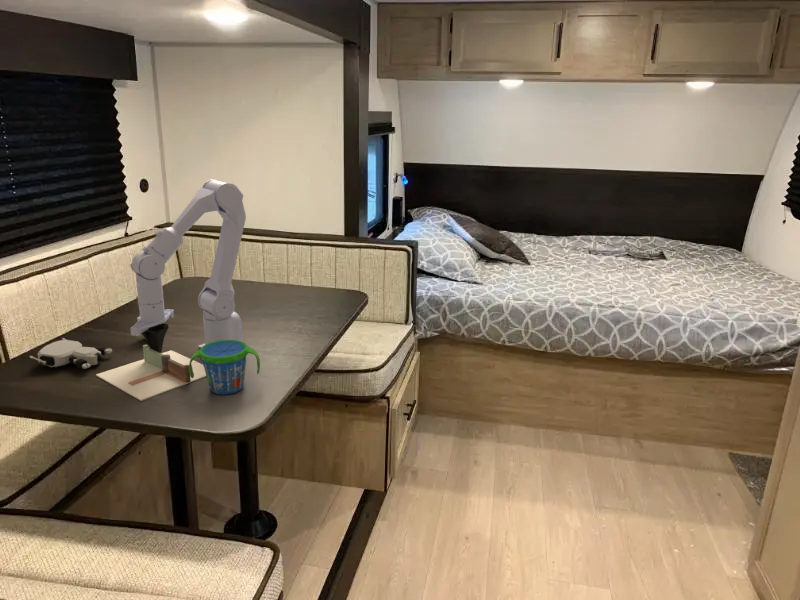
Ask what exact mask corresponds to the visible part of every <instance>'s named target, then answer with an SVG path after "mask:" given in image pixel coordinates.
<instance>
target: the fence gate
mask: <svg viewBox="0 0 800 600" xmlns="http://www.w3.org/2000/svg"><path fill="white" fill-rule="evenodd" d="M142 351H143V359H144V361H147V362H149V363H151V364H153V365H155V366H157V367H159V368H161V369H163V368H162V359H161V356H162V355H163V354H161V353H162V352H161V353H159V352H157V351H154V350H152V349H150V347H149V344H143V345H142Z"/></svg>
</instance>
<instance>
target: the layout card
mask: <svg viewBox="0 0 800 600" xmlns="http://www.w3.org/2000/svg"><path fill="white" fill-rule="evenodd" d="M161 354H163V355H170V359H172V360H174V361H176V362H178V363H180V364H182V365H189V363H190V360H191V358H189V357H188V356H186V355H185V356H184V355H182V354H180V353H179V352H177V351H174V350H168V351H165V352H161ZM191 365H192V369H193V373H194V378H191V376H190V380H191V382H188V383H186V382H185V381H184V380H182V379H180V378H178V377H176V376H174V375H172V374H170V373H169V372H168V373H164V372H163V369H161V368H159V367H157V366H155V365H153V364H151V363H149V362H147V361H144V358H143V359H140V360H137V361H134V362H130V363H128V364H124V365H120V366H119V367H116V368H112V369H109V370H106V371H102V372H100V373H96V374H95V376H96V377H97V378H99V379H101V380H103V381H105V382H107V383H108V384H110V385H112V386H113V387H115V388H117V389H119V390H120V391H122V392H124V393H126V394H128V395H130V396H131V397H133V398H135V399H137V400H139V401H140V402H143V401H145V400H148V399H150V398H153V397H155V396H158V395H161V394H164V393H166V392H170V391H172V390H175V389H177V388H180V387H183V386H185V385H188V384H190V383H193V382H196V381H199V380H201V379H203V378H207V376H206V373H205V369H204V366H203V363H202V362H201V363H200V362H198V361H197V360H194V359H193V361H192V363H191Z"/></svg>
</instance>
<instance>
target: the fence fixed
mask: <svg viewBox="0 0 800 600" xmlns="http://www.w3.org/2000/svg"><path fill="white" fill-rule="evenodd" d="M161 359H162V368H163V372H164V373H168V372H169V373H170V374H172V375H174V376H176V377H178V378H180V379H182V380H184V381H185V382H186V383H188V382H191V380H190V373H189V365H182V364H180V363H178V362H176V361H174V360H172V359H170V355H162V356H161ZM191 383H192V382H191ZM188 384H189V383H188Z"/></svg>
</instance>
